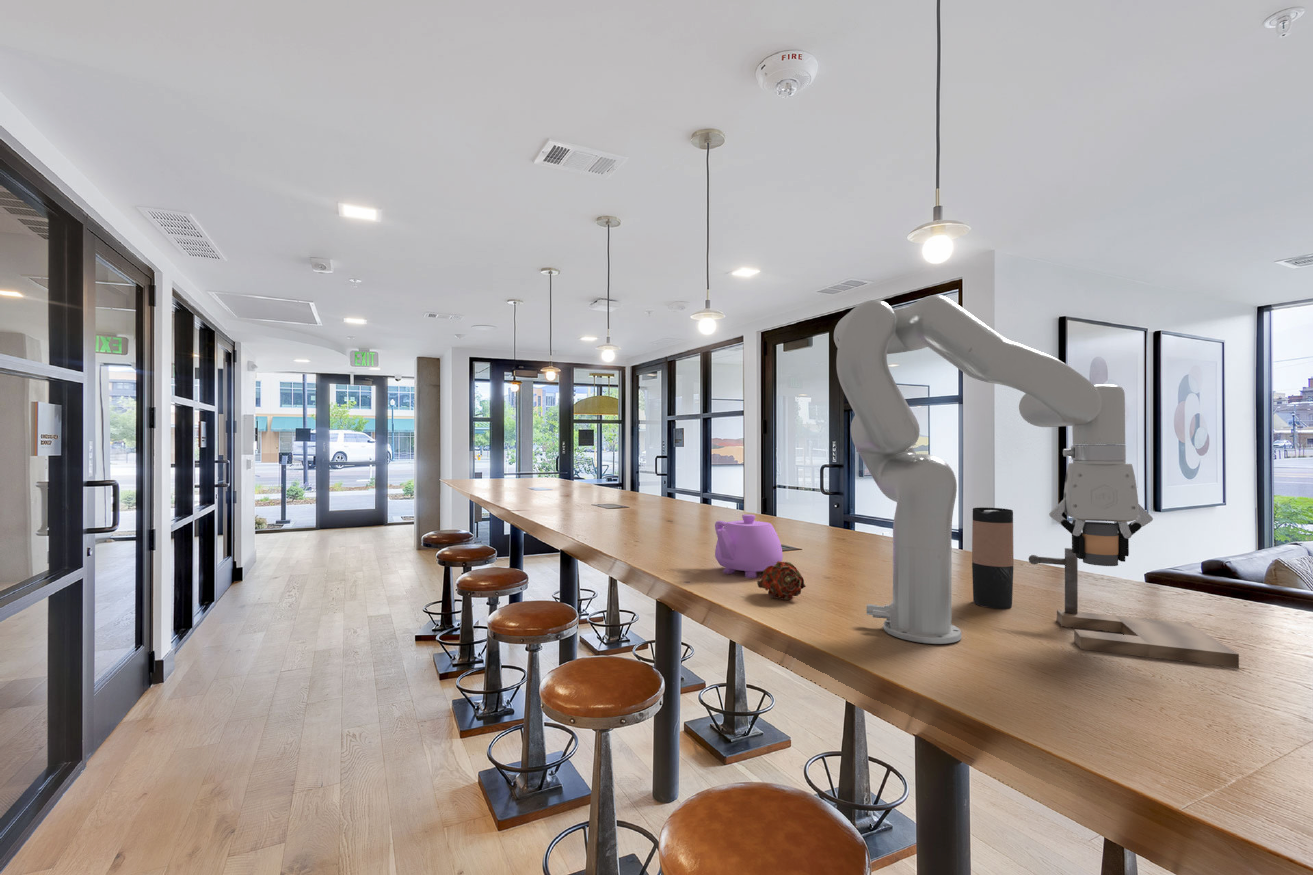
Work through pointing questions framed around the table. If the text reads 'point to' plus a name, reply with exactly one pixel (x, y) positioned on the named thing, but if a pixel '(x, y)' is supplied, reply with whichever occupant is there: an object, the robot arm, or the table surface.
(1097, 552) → the coffee cup
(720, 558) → the teapot
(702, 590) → the table surface
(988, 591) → the travel mug
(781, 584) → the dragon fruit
